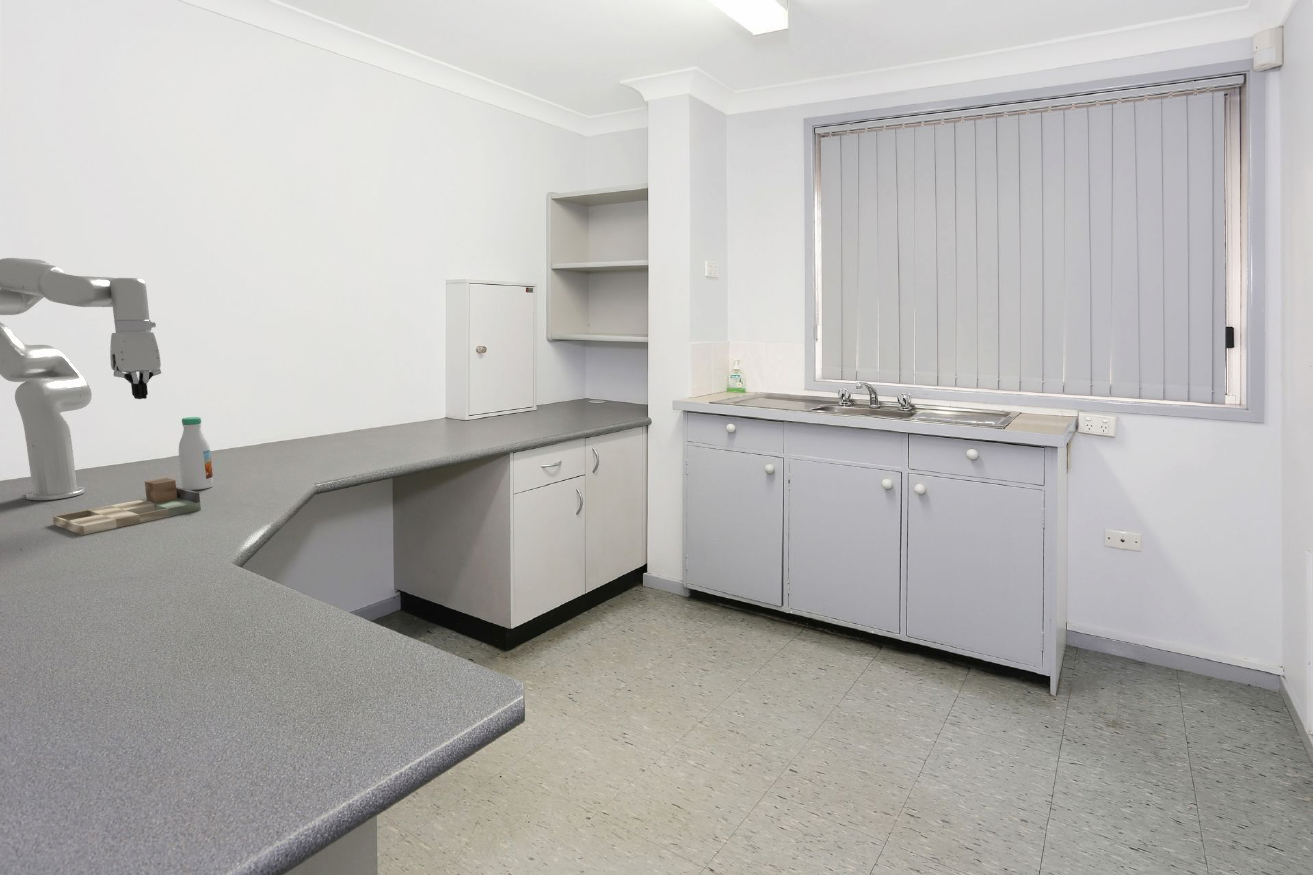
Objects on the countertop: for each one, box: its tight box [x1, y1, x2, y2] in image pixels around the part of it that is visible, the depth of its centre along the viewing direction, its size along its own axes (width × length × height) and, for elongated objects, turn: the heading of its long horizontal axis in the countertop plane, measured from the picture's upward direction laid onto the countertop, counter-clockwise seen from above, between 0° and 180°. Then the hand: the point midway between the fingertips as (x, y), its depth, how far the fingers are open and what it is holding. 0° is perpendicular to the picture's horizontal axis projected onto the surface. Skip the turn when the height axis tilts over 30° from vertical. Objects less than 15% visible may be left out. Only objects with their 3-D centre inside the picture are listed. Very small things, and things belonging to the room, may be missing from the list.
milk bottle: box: [178, 416, 214, 491], centre depth 217 cm, size 8×8×20 cm
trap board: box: [52, 486, 202, 536], centre depth 188 cm, size 15×26×4 cm, turn 148°
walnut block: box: [144, 477, 177, 503], centre depth 197 cm, size 5×5×5 cm
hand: (140, 398), depth 200 cm, fingers closed
